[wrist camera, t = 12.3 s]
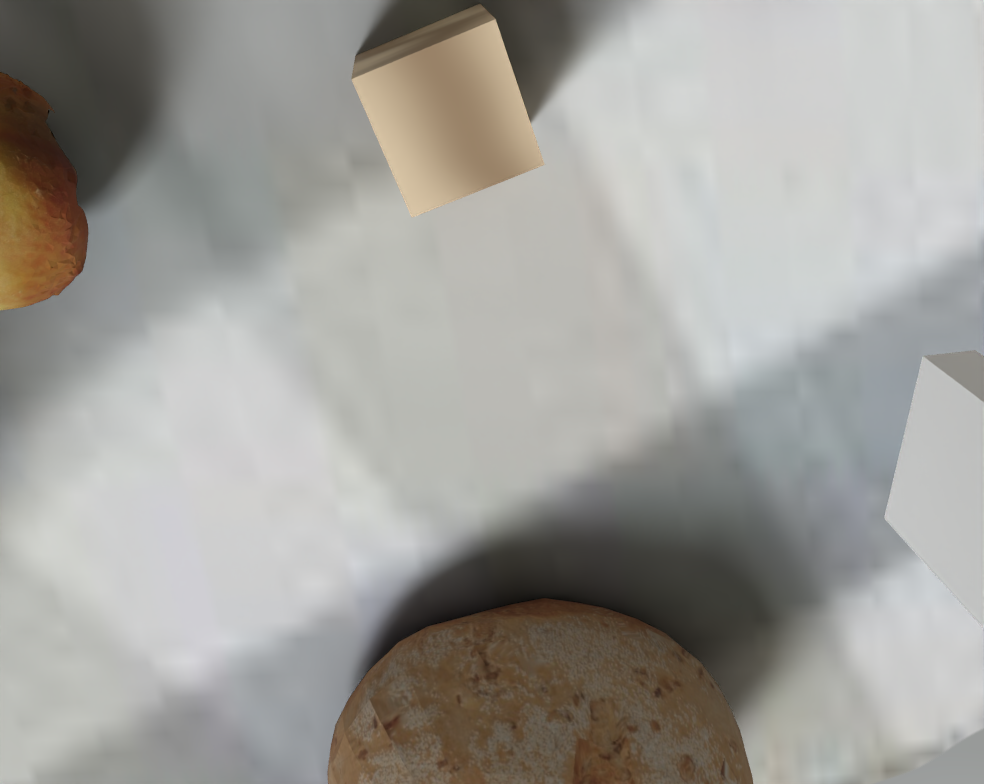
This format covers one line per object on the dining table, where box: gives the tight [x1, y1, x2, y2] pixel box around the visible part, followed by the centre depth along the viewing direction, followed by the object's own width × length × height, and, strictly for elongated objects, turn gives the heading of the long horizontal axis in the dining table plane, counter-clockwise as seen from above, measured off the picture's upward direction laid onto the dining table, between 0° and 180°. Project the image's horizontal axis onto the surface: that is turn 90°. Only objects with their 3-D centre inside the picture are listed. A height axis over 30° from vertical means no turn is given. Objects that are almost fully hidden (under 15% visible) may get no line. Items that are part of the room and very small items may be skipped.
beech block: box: [352, 4, 544, 217], centre depth 31 cm, size 5×5×5 cm
